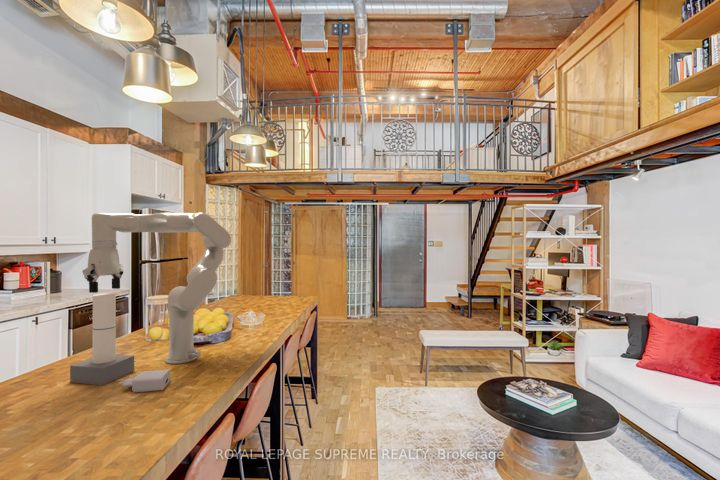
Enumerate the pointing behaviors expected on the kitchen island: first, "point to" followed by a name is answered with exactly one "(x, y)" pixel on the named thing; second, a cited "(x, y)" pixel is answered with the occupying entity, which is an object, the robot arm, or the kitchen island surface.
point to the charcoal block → (101, 370)
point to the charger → (148, 381)
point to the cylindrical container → (104, 328)
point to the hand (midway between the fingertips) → (105, 290)
